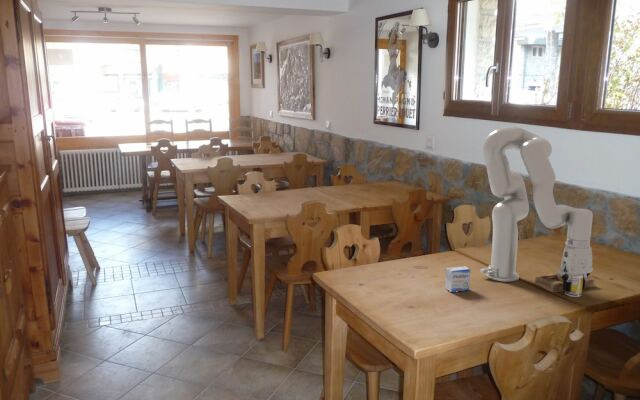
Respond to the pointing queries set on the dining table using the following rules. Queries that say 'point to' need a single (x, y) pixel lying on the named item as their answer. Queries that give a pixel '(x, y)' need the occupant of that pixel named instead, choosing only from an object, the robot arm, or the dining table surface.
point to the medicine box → (457, 278)
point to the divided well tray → (557, 282)
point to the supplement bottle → (575, 286)
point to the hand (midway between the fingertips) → (573, 289)
